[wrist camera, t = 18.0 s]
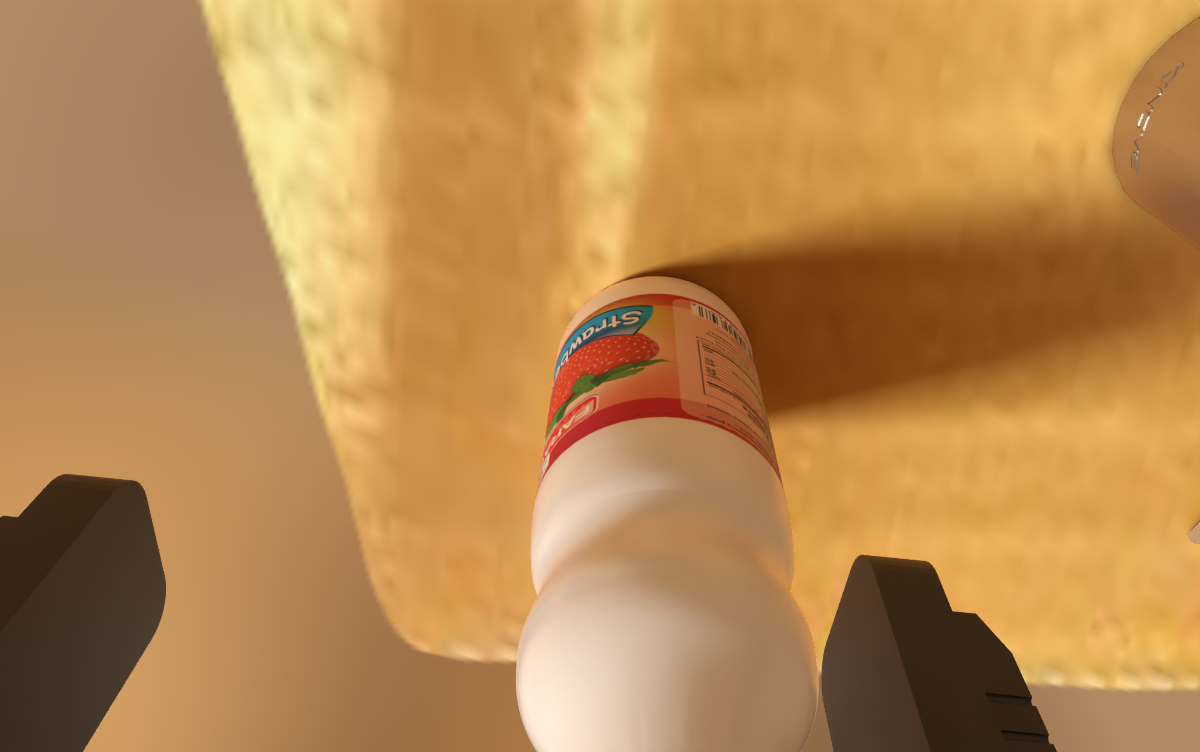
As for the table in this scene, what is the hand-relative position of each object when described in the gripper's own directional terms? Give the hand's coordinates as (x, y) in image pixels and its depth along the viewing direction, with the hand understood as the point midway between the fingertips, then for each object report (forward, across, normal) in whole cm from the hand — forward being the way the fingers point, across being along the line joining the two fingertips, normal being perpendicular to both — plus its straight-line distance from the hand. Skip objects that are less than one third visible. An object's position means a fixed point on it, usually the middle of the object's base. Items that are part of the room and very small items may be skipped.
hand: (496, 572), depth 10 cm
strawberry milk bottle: (+30, -4, +14) cm, 33 cm away
